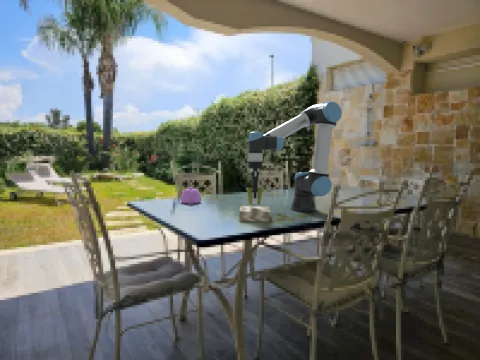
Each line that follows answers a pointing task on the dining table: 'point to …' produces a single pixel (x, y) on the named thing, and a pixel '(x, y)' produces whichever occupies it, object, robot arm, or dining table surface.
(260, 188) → the plant pot
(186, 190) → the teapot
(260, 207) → the birch pedestal block
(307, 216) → the dining table surface
